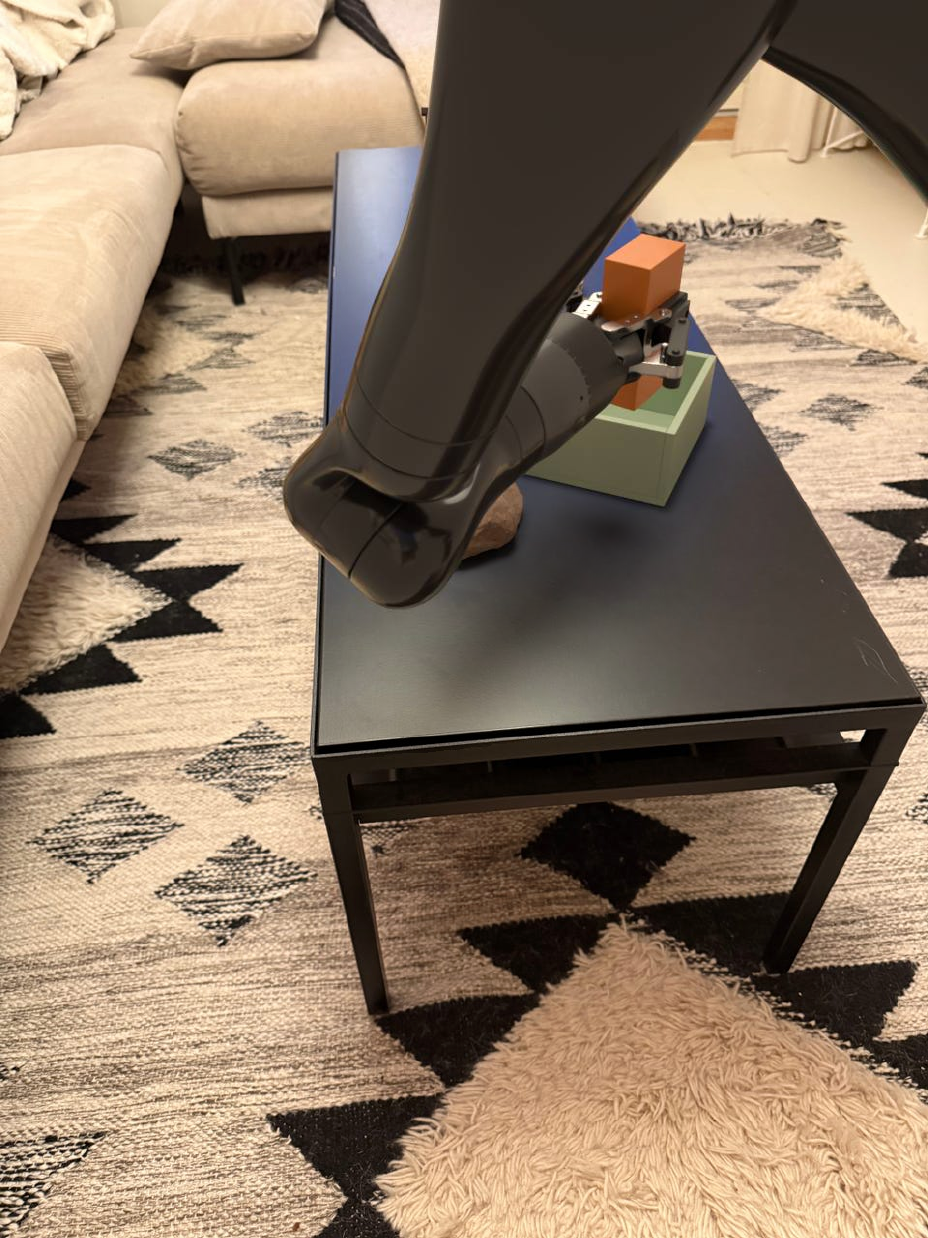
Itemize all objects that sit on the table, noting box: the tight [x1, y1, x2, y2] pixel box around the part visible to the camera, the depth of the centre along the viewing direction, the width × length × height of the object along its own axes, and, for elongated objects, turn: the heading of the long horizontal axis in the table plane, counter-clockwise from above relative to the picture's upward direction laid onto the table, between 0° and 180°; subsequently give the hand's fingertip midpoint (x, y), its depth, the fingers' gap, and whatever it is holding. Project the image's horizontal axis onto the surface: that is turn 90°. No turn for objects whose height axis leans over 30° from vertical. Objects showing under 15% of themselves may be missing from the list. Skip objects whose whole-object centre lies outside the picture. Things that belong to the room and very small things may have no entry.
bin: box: [524, 350, 718, 507], centre depth 91 cm, size 16×16×8 cm
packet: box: [600, 233, 687, 411], centre depth 69 cm, size 4×6×11 cm, turn 145°
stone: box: [461, 481, 524, 561], centre depth 82 cm, size 12×9×10 cm
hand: (656, 297), depth 70 cm, fingers closed on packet, 3 cm apart
